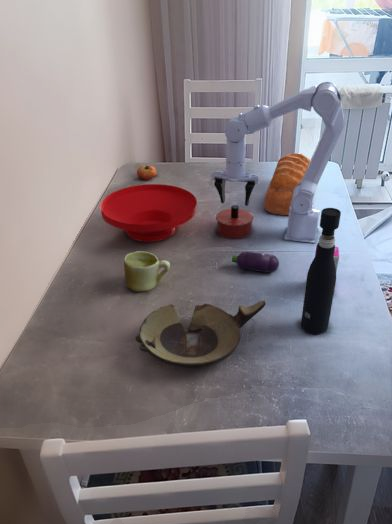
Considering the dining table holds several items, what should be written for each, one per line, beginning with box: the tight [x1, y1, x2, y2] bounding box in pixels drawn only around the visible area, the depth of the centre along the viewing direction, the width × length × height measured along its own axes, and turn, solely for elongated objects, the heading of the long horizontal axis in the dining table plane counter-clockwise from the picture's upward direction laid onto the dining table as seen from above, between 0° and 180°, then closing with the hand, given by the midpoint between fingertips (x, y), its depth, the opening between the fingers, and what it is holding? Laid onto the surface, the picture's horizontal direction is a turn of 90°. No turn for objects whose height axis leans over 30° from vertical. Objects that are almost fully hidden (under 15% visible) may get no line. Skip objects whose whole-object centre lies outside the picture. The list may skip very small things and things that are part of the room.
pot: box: [216, 221, 253, 240], centre depth 156 cm, size 11×11×4 cm
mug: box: [123, 250, 171, 292], centre depth 131 cm, size 12×10×10 cm
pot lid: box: [215, 204, 255, 227], centre depth 153 cm, size 12×12×4 cm
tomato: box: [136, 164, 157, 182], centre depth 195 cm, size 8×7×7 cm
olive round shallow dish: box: [134, 300, 267, 368], centre depth 110 cm, size 22×30×8 cm
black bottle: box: [300, 207, 342, 336], centre depth 107 cm, size 6×6×30 cm
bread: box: [263, 152, 311, 216], centre depth 172 cm, size 16×31×13 cm, turn 165°
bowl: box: [100, 183, 198, 243], centre depth 156 cm, size 30×30×10 cm
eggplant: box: [231, 250, 280, 273], centre depth 136 cm, size 13×5×5 cm, turn 73°
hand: (234, 203), depth 151 cm, fingers open, 7 cm apart
